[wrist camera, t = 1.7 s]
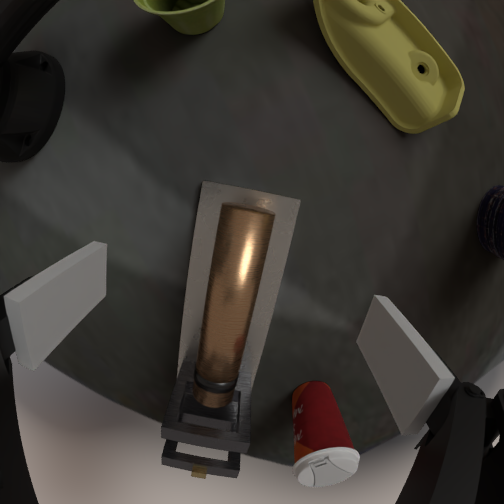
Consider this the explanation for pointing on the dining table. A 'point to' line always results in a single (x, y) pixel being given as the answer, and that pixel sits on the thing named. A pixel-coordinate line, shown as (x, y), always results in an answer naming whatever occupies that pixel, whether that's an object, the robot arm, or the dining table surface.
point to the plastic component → (392, 60)
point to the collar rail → (182, 398)
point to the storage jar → (492, 221)
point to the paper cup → (320, 438)
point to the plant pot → (186, 13)
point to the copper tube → (230, 299)
